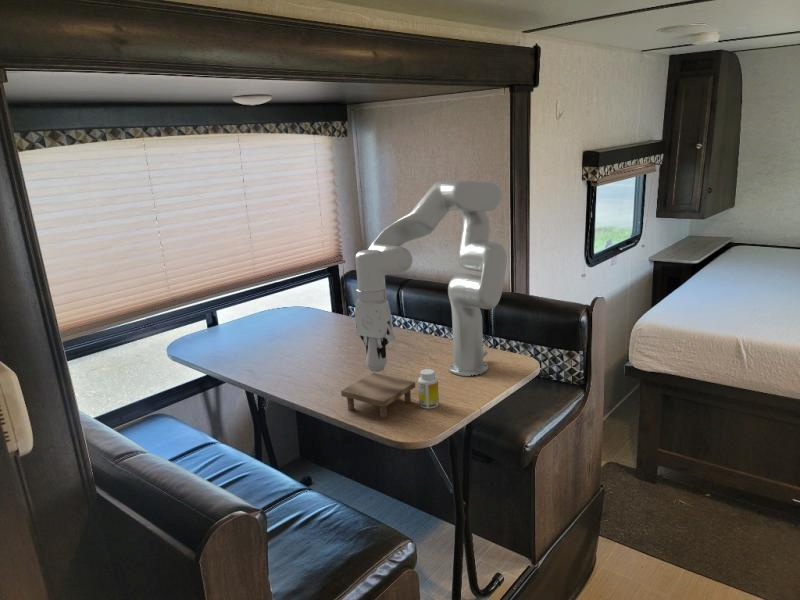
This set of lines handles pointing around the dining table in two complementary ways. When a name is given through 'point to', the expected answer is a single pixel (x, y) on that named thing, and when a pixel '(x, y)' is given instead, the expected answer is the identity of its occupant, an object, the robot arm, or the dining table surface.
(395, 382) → the small wooden table
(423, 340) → the dining table surface
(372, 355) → the salt shaker
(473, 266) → the robot arm
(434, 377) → the supplement bottle
